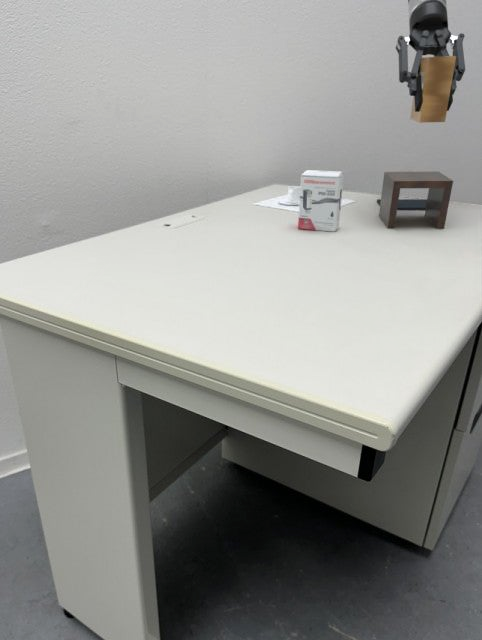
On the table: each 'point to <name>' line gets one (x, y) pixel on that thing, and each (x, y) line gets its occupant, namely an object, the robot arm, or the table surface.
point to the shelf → (432, 180)
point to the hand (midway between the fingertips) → (433, 106)
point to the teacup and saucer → (290, 200)
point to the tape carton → (434, 88)
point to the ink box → (320, 200)
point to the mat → (410, 204)
